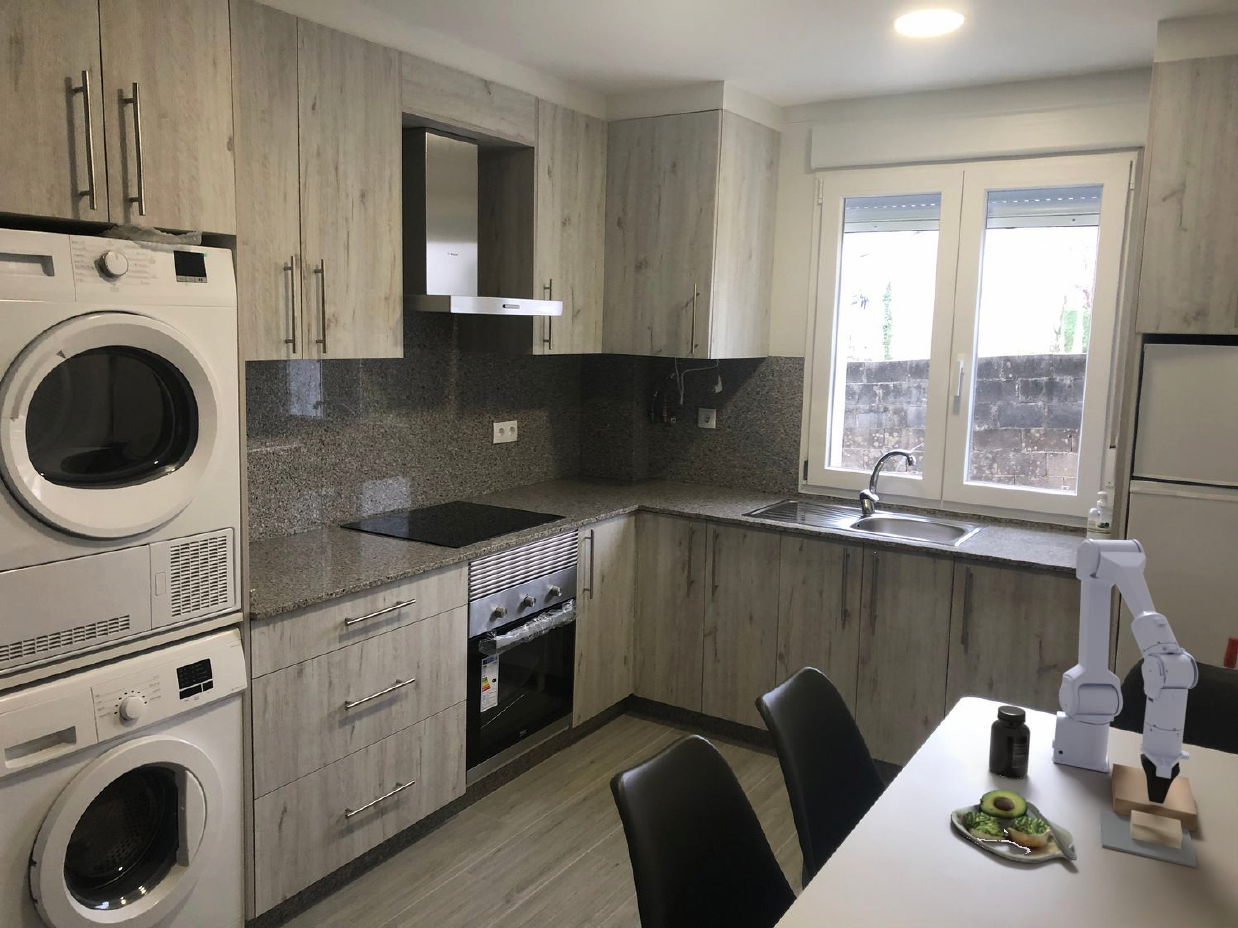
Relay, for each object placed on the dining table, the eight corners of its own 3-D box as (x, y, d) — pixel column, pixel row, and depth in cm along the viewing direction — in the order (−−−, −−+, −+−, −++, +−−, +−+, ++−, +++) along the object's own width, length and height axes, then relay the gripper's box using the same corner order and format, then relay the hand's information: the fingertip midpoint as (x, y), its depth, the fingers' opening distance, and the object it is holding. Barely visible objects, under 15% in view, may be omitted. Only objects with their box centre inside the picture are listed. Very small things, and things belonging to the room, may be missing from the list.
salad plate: (1111, 858, 150) (1113, 831, 149) (1028, 883, 142) (1030, 854, 142) (1013, 803, 167) (1015, 778, 167) (935, 822, 160) (937, 796, 159)
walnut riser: (1113, 814, 163) (1115, 797, 163) (1111, 778, 177) (1113, 763, 176) (1195, 831, 158) (1197, 814, 158) (1186, 793, 172) (1188, 777, 171)
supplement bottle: (1026, 766, 181) (1031, 706, 179) (1028, 782, 174) (1034, 719, 173) (987, 760, 183) (992, 700, 181) (988, 775, 177) (993, 713, 175)
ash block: (1131, 809, 159) (1130, 823, 159) (1132, 823, 155) (1131, 837, 155) (1180, 819, 156) (1178, 834, 156) (1182, 833, 152) (1180, 848, 152)
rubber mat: (1102, 846, 153) (1102, 844, 153) (1100, 812, 164) (1101, 810, 164) (1196, 867, 147) (1196, 865, 147) (1188, 830, 158) (1188, 828, 158)
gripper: (1196, 745, 151) (1187, 825, 152) (1187, 713, 164) (1179, 788, 165) (1145, 736, 154) (1137, 815, 155) (1140, 705, 167) (1133, 779, 168)
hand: (1155, 800), depth 161 cm, fingers closed
